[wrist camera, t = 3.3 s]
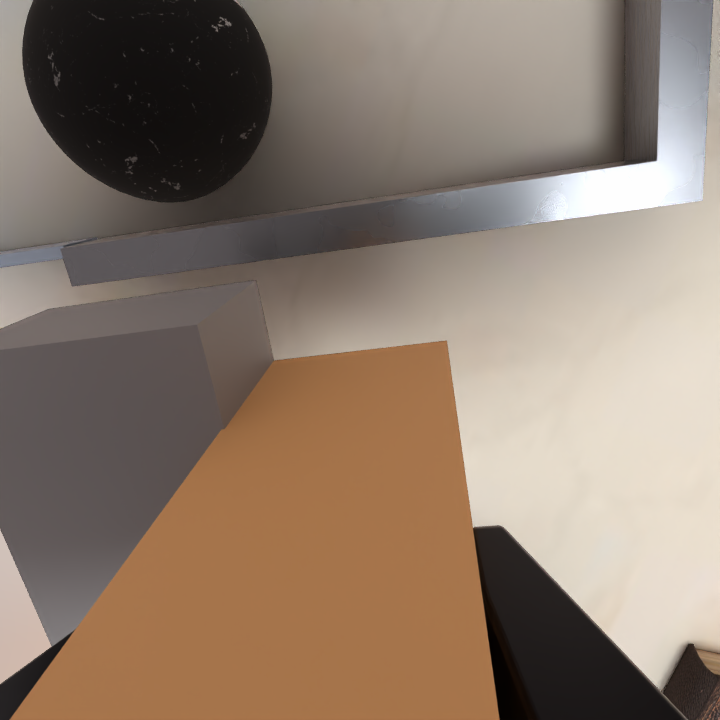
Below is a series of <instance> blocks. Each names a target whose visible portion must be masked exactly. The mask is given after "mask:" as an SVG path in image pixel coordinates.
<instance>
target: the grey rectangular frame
mask: <svg viewBox="0 0 720 720" xmlns="http://www.w3.org/2000/svg"><path fill="white" fill-rule="evenodd" d="M712 12H713V0H625V100H624V161H619V162H612V163H606V164H599V165H592V166H585V167H579V168H572V169H565V170H558V171H551V172H545V173H538V174H531V175H524V176H518V177H511V178H504V179H497V180H491V181H484V182H477V183H470V184H464V185H457V186H450V187H443V188H437V189H430V190H423V191H416V192H409V193H403V194H396V195H389V196H382V197H376V198H369V199H362V200H355V201H349V202H342V203H335V204H328V205H322V206H315V207H308V208H301V209H295V210H288V211H281V212H274V213H267V214H261V215H254V216H247V217H240V218H234V219H227V220H220V221H213V222H207V223H200V224H193V225H186V226H180V227H173V228H166V229H159V230H153V231H146V232H139V233H132V234H125V235H119V236H112V237H105V238H100V239H96V240H92V241H88V242H84V243H80V244H76V245H72V246H69V247H65V248H61V249H60V250H61V253H62V256H63V260H64V263H65V266H66V269H67V272H68V275H69V278H70V281H71V284H72V286H80V285H87V284H94V283H102V282H109V281H116V280H124V279H131V278H138V277H146V276H153V275H160V274H168V273H175V272H182V271H190V270H197V269H204V268H212V267H219V266H227V265H234V264H241V263H249V262H256V261H263V260H271V259H278V258H285V257H293V256H300V255H307V254H315V253H322V252H329V251H337V250H344V249H351V248H359V247H366V246H373V245H381V244H388V243H395V242H403V241H410V240H417V239H425V238H432V237H439V236H447V235H454V234H461V233H469V232H476V231H483V230H491V229H498V228H505V227H513V226H520V225H527V224H535V223H542V222H549V221H557V220H564V219H571V218H579V217H586V216H593V215H601V214H608V213H615V212H623V211H630V210H637V209H645V208H652V207H659V206H667V205H674V204H681V203H689V202H696V201H703V184H704V164H705V145H706V126H707V107H708V88H709V69H710V50H711V31H712Z"/></svg>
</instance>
